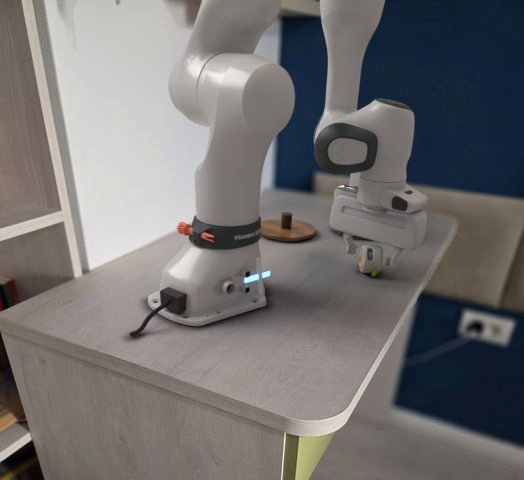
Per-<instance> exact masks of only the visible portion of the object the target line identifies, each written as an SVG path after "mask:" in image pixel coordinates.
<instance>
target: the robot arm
mask: <svg viewBox="0 0 524 480" xmlns="http://www.w3.org/2000/svg"><path fill="white" fill-rule="evenodd" d="M282 2H283V0H201V2H200V6H199V9H198V12H197V16H196V19H195V21H194V24H193V27H192V29H191V33H190V35H189V38H188V40H187V43H186V46H185V48H184V51H183V53H182V54H181V56H180V57H179V59H178V60H177V61H176V62H175V63H174V64H173V66H172V68H171V70H170V72H169V75H168V85H167V86H168V87H167V89H168V93H169V94H168V95H169V96H170V97H169V98H170V100H171V102H172V104H173V106H174V107H175V109H176V110H177V111H178V112H179V113H180V114H181V115H183V116H184V117H185V118H187V120H189V121H191V122H192V123H194V124H195V125H199V126H202V127H206V128H208V129H209V135H208V142H207V147H206V150H205V154H204V157H203V159H202V161H200V162H199V163H198V165H197V166H196V167H195V171H194V197H195V199H194V201H195V215H194V216H193V219H192V222H191V224H189V223H186V222H184V221H180V222H178V223H177V225H176V231H177V232H178V234H180V235H184V236H186V237H187V239H188V240H187V241H186V243H185V244H184V245H183V246H182V247H181V248H180V249H179V251H178V252H177V253H176V254H175V255H174V256H173V257H172V258H171V260H170V261H169V262H168V263H167V264H166V265H165V266H164V267H163V268H162V270H161V274H160V282H159V289H158V290H156V291H154V292H152V293H151V294H148V296H147V304H148V306H149V308H150V309H152V311H151V312H150V313H149V314H148V315H147V316H146V317H145V318H144V320H143V322H142V323H141V325H140V326H139V327H138V328H137V329H136V330H133V331H131V332H129V336H130V337H131V338H132V337H135V336H137V335H139V334H141V333H142V332H144V330H145V329H146V327H147V325H148V324H149V322H150V321H151V319H152V318H153V317H155V315H157V314H158V315H159V316H161V317H164V318H165V319H168V320H170V321H172V322H174V323H178V324H181V325H185V326H191V327H202V326H205V325H208V324H212V323H214V322H218V321H221V320H225V319H227V318H231V317H235V316H237V315H241V314H244V313H247V312H250V311H254V310H257V309H260V308H263V307H266V306H267V298H266V295H265V294H266V288H265V285H264V284H265V283H264V278H267V277H270V276H271V270H268V271H264V272H263V265H262V257H261V251H260V243H259V242H260V240H261V237H262V235H261V230H262V227H261V222H262V218H261V216H260V202H261V201H260V200H261V183H262V182H261V181H262V175H263V170H264V164H265V162H266V158H267V155H268V153H269V149H270V147H271V145H272V143H273V141H274V139H275V138H276V137H277V135H278V134H280V133H281V132H282V131H283V130H284V129H285V128H286V126H287V125H288V123H289V122H290V120H291V118H292V115H293V113H294V109H295V103H296V90H295V86H294V83H293V80H292V77H291V75H290V74H289V72H288V71H287V70H286V69H285V68H284V66H281V65H280V64H278V63H276V62H275V61H273V60H271V59H268V58H267V57H264V56H261V55H258V54H254V53H255V52H256V51H255V50H256V49H257V46H258V45H259V42H260V41H261V38H262V36H263V35H264V34H265V32H266V31H267V29H269V27H271V25H272V24H273V23H274V22H275V20H276V19H277V17H278V16H279V13H280V10H281V7H282ZM385 3H386V0H319V11H320V20H321V26H322V31H323V35H324V40H325V45H326V49H327V75H326V88H325V102H324V108H323V112H322V113H321V116H320V118H319V120H318V122H317V124H316V126H315V129H314V133H313V154H314V159H315V161H316V163H317V165H318V166H319V167H320V168H321V169H322V170H323V171H324V172H325V173H328V174H331V175H335V176H338V175H350V174H351V173H358V172H360V177H359V185H358V187H354V186H349V184H340V185H339V186H337V187H336V188H335V189H334V191H333V202H332V207H331V212H330V215H329V220H328V221H329V223H328V224H329V226H330V228H331V229H332V230H334V231H335V230H338V231H342V232H344V234H343V236H342V237H343V241H344V243H345V246H346V249H345V250H346V251H345V252H346V254H348V255H352V256H353V255H355V254H356V253H357V248H358V245H357V244H355V243H354V239H352V236H354V235H356V236H359V237H363V238H366V239H370V240H369V241H374V242H378V243H381V244H385V245H388V246H391V247H393V248H392V252H394V253H393V254H392V255H391V254H390V255H388V256H386V257H385V266H387V267H391V268H393V267H395V266H396V264H397V260H398V258H399V257H400V255H402V253H403V252H404V250H406V251H410V252H414V251H416V250H418V249H419V248H421V247H422V246H423V245H424V242H425V238H426V233H427V225H428V223H427V222H428V217H427V213H426V211H425V209H424V208H426V206H428V200H429V198H428V196H427V195H426V194H424V193H422V192H420V191H419V190H417V189H415V188H414V187H412V186H410V184H408V183H407V166H408V161H409V160H410V157H411V155H412V148H413V141H414V136H415V113H414V111H413V110H412V108H411V107H410V106H409V105H407V104H406V103H402V102H401V101H397V100H393V99H390V98H389V99H388V98H381V97H380V98H375V99H374V100H372V101H371V102H370V103H369V104H367V105H365V106H364V107H362V108H360V109H358V102H359V101H358V100H359V92H360V85H361V84H360V83H361V74H362V65H363V61H364V57H365V53H366V51H367V48H368V45H369V43H370V41H371V39H372V37H373V35H374V34H375V32H376V30H377V28H378V25H379V24H380V21H381V17H382V14H383V11H384V7H385Z"/></svg>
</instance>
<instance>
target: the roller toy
mask: <svg viewBox="0 0 524 480" xmlns="http://www.w3.org/2000/svg"><path fill="white" fill-rule="evenodd" d="M358 256H359V257H358V269H359V271H360V273H362V274H370V275H371V277H376V276H377V274H379V273H380V272H381V270H382V267H383V262H384V251H383V247H382V246H381V245H374V244H363V245H361V248H360V251H359V255H358Z"/></svg>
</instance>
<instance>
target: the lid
mask: <svg viewBox="0 0 524 480" xmlns="http://www.w3.org/2000/svg"><path fill="white" fill-rule="evenodd" d="M261 227H262V230H261V236H262V237H265V238H267V239H272V240H275V241H285V242H286V241H288V242H289V241H290V242H291V241H292V242H293V241H295V242H296V241H304V240H308V239H310V238H312V237H314V236H315V235H316V227H315V226H314V225H313V224H311V223H309V222H307V221H303V220H299V219H294V218H293V213H292V212H289V211H283V212H281V218H270V219H267V220H262V221H261Z"/></svg>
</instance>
